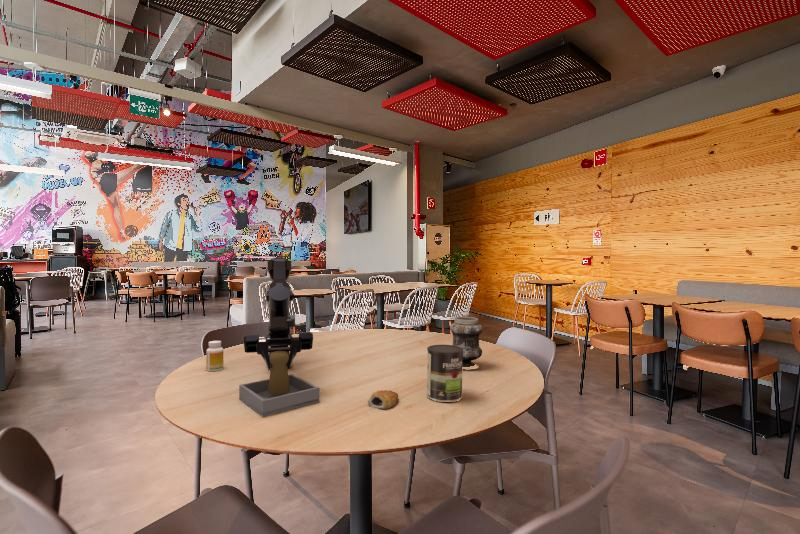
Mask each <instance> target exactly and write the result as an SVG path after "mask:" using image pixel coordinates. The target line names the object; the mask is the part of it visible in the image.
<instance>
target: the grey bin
mask: <svg viewBox="0 0 800 534" xmlns="http://www.w3.org/2000/svg"><path fill="white" fill-rule="evenodd" d="M288 376H289V384H290V391H289V392H288V393H285V394H280V395H272V394H269V393H268V385H269V378H267V379H262V380H258V381H252V382H248V383H247V382H246V383H242V384H239V387H238V391H239V394H238V396H239V398H238V399H239V401H241V402H242V403H244V405H246V406H248V407H249V408H250V409H252V411H254V412H256V413H257V414H258V415H259V416H261V418H264V417H268V416H269V417H270V416H273V415H276V414H280V413H283V412H287V411H291V410H295V409H299V408H301V407H302V408H303V407H306V406H310V405H314V404H317V403H320V387H319V386H317V385H315V384H314V383H311V382H309V381H307V380H305V379H302V378H300V377H299V376H297V375H295V374H292V373H291V374H288Z"/></svg>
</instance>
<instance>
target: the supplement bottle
mask: <svg viewBox="0 0 800 534" xmlns="http://www.w3.org/2000/svg"><path fill="white" fill-rule="evenodd" d="M205 355H206V359H205V360H206V371H208V372H218V371H221V370H224V347H222V340H212V341H211V340H210V341H208V348H207V349H206V354H205Z"/></svg>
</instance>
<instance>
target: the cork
mask: <svg viewBox="0 0 800 534" xmlns="http://www.w3.org/2000/svg"><path fill="white" fill-rule="evenodd" d="M289 354H290V353H289ZM289 354H288V353H287V352H286V351H275V352H272V353H271V355H270V357H269V359H270V363H271V369H270V370H269V371H270V373H269V378H268V379H269V385H268V393H269V394H272V395H280V394H285V393H288V392H289V391H290V384H289V376H288V375H289V370H288V368H287V362H288V360H289Z"/></svg>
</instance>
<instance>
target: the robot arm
mask: <svg viewBox="0 0 800 534" xmlns="http://www.w3.org/2000/svg"><path fill="white" fill-rule="evenodd" d="M266 267H267V270H266V271H267V273H269V279H270V280H271V282H270V283H269V285H268V286H269V287H268V290H266V293H265V298H266V299H265V301H266V302H267V303H268V305H269V315H268V317H269V320H268V321H269V323H268V324H269V325H268V334H266V336H262V337H261V336H260V333H251V334H245V335H244V337H243V347H244V353H246V354H249V353H250V354H251V353H256V355H260V356H261V357H262V359H263V360H264V363H265V365H266V367H267V370H268V371H271V363H270V359H269V357H270V355H271V353H272V352H275V351H286V352H287V353H288V354H289V360H288V362H287V368H288V369H291V368H292V364H293V361H294V359H295V358H296V355H297V354H298V353H301V352H302V351H306V350H308V351H309V350H312V349H313V344H314V334H313V332H311V331H301V332H298V336H295V337H293V335H292V333H291V328H295V327H296V315H295V314H290V303H291V302H293V299H295V294H294V293H293V290H292V289H291V287H290V286H291V285H290V283H289V282H288V281H289V279H290V273H292V261H291V260H289V259H288V258H285V257H273V258H272V259H270V260H267V266H266Z"/></svg>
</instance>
